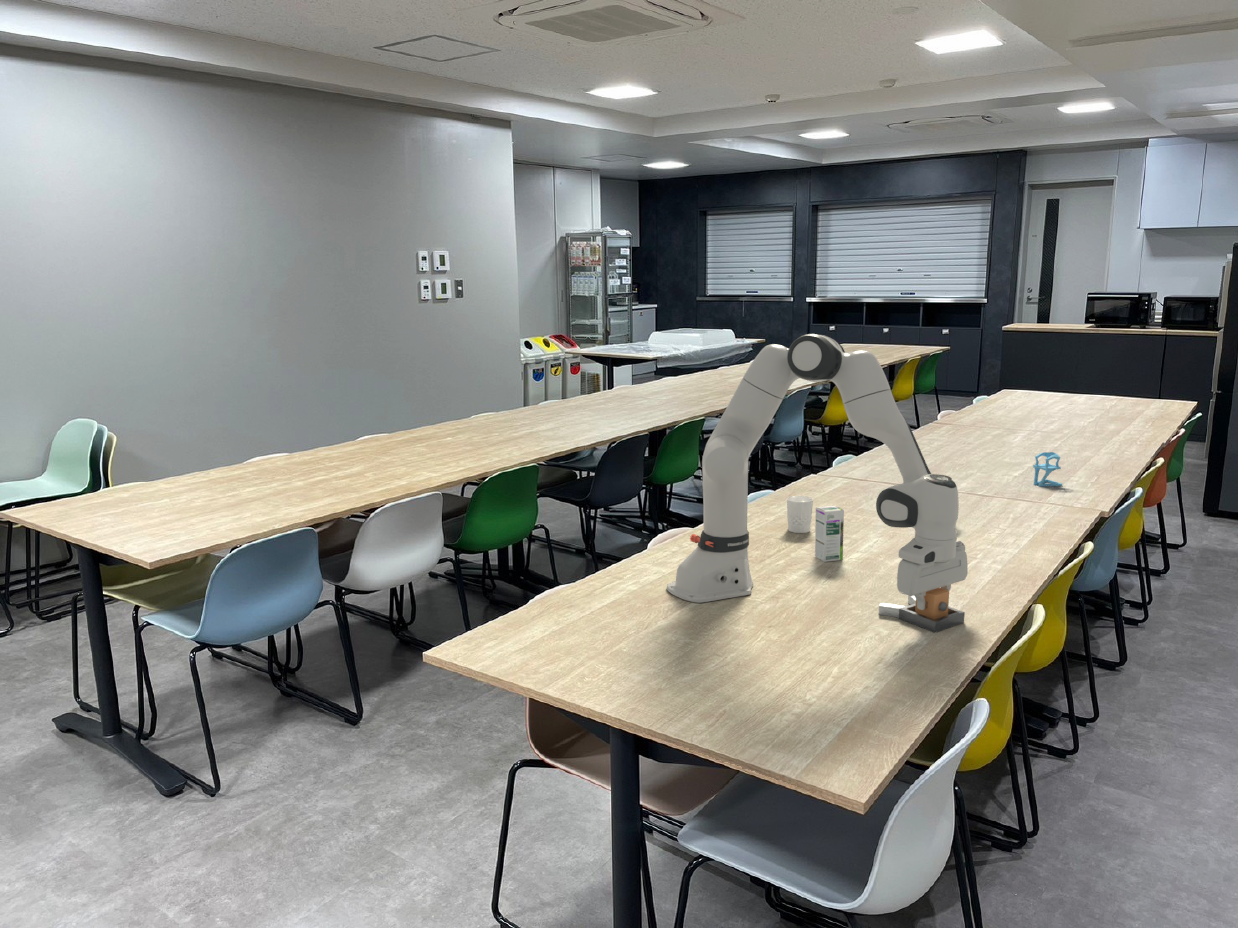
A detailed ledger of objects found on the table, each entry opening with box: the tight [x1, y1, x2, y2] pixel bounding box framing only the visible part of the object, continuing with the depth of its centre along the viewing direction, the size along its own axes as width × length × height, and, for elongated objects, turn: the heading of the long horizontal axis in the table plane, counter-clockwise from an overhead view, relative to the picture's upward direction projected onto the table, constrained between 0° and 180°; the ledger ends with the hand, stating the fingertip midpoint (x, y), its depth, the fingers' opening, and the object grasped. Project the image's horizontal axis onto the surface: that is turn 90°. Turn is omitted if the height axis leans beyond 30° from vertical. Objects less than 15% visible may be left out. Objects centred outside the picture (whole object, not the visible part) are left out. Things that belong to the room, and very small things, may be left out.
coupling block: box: [915, 587, 950, 619], centre depth 204 cm, size 5×7×6 cm
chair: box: [1032, 451, 1063, 488], centre depth 328 cm, size 8×8×12 cm
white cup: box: [786, 495, 814, 534], centre depth 277 cm, size 8×8×10 cm
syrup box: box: [814, 505, 845, 563], centre depth 249 cm, size 6×6×14 cm
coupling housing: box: [878, 595, 965, 633], centre depth 207 cm, size 13×16×2 cm
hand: (931, 605), depth 204 cm, fingers open, 5 cm apart
